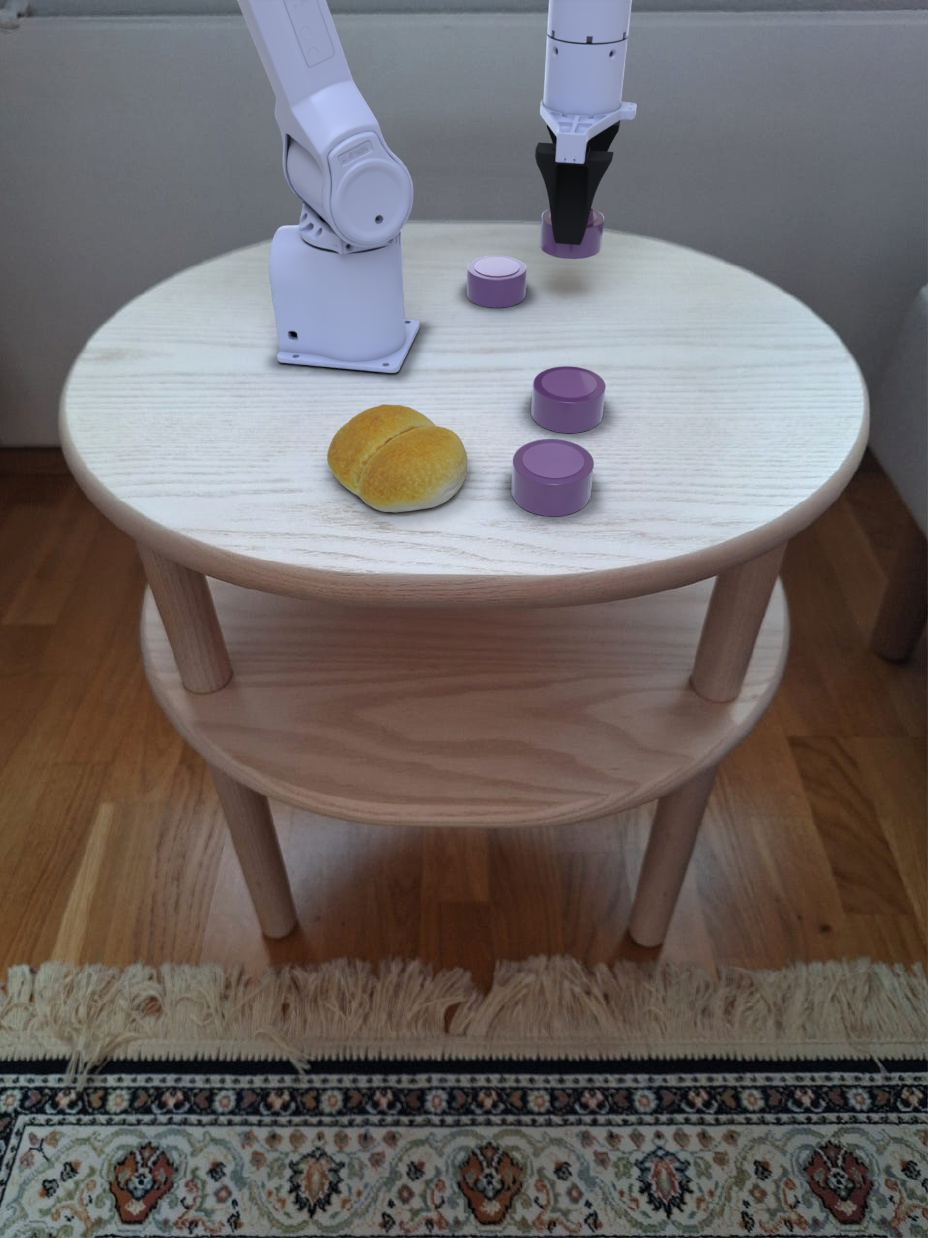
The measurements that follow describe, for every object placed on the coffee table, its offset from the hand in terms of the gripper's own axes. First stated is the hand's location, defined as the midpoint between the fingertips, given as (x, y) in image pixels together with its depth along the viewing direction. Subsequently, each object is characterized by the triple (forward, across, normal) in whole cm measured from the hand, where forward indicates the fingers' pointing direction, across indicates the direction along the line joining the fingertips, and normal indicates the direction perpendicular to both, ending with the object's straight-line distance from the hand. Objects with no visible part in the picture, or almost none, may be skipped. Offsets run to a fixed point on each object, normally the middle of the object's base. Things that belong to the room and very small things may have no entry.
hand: (571, 229), depth 76 cm
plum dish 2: (+6, -18, -2) cm, 19 cm away
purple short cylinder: (+6, 0, +6) cm, 8 cm away
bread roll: (+6, -28, +8) cm, 30 cm away
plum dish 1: (+1, 0, 0) cm, 1 cm away
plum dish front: (+6, -28, -2) cm, 29 cm away
